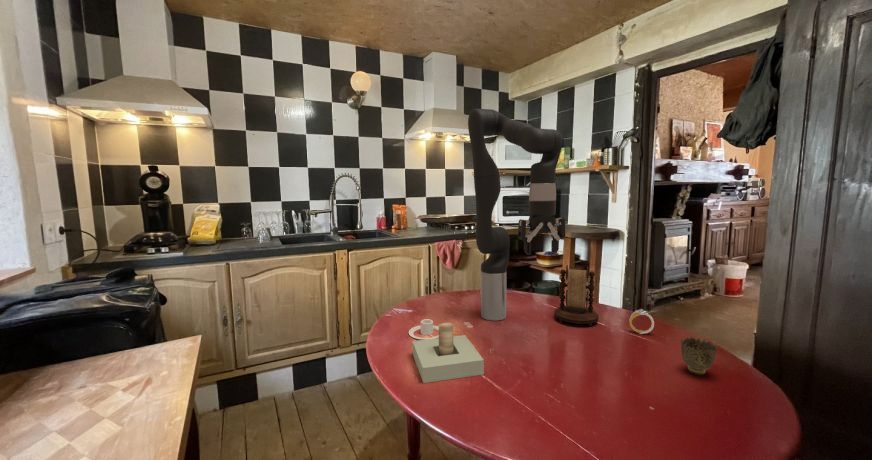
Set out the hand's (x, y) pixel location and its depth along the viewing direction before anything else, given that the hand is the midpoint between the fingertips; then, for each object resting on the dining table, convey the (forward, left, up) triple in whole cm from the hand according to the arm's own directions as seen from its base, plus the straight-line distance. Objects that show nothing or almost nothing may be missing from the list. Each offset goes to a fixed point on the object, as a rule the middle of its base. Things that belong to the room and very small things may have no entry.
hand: (541, 253), depth 108 cm
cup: (+26, +30, -28) cm, 49 cm away
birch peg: (+5, -31, -28) cm, 42 cm away
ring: (+2, +35, -28) cm, 45 cm away
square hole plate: (+5, -31, -28) cm, 42 cm away
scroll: (-14, +22, -28) cm, 39 cm away
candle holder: (-17, -32, -29) cm, 46 cm away
